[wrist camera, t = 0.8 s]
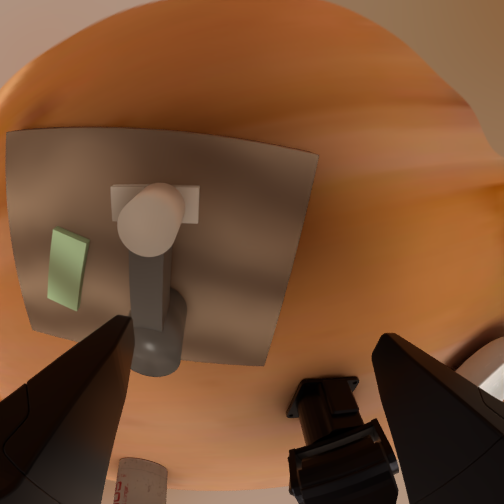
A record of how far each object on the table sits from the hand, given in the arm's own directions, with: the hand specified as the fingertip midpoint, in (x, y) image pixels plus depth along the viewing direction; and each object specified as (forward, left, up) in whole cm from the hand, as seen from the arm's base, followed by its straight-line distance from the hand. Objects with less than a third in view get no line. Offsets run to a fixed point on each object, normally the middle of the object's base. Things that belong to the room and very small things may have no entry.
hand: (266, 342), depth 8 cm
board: (-3, +6, -12) cm, 14 cm away
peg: (-3, +4, -10) cm, 11 cm away
